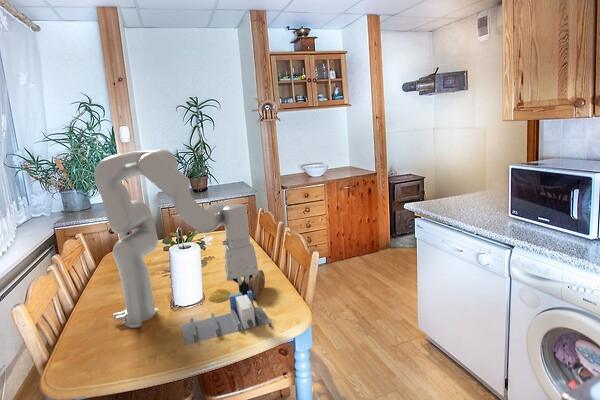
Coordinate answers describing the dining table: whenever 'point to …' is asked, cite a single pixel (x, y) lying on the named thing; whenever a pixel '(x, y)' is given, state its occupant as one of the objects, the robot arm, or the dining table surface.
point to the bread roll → (219, 295)
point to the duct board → (221, 323)
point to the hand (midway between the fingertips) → (244, 293)
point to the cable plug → (245, 311)
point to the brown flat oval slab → (257, 284)
